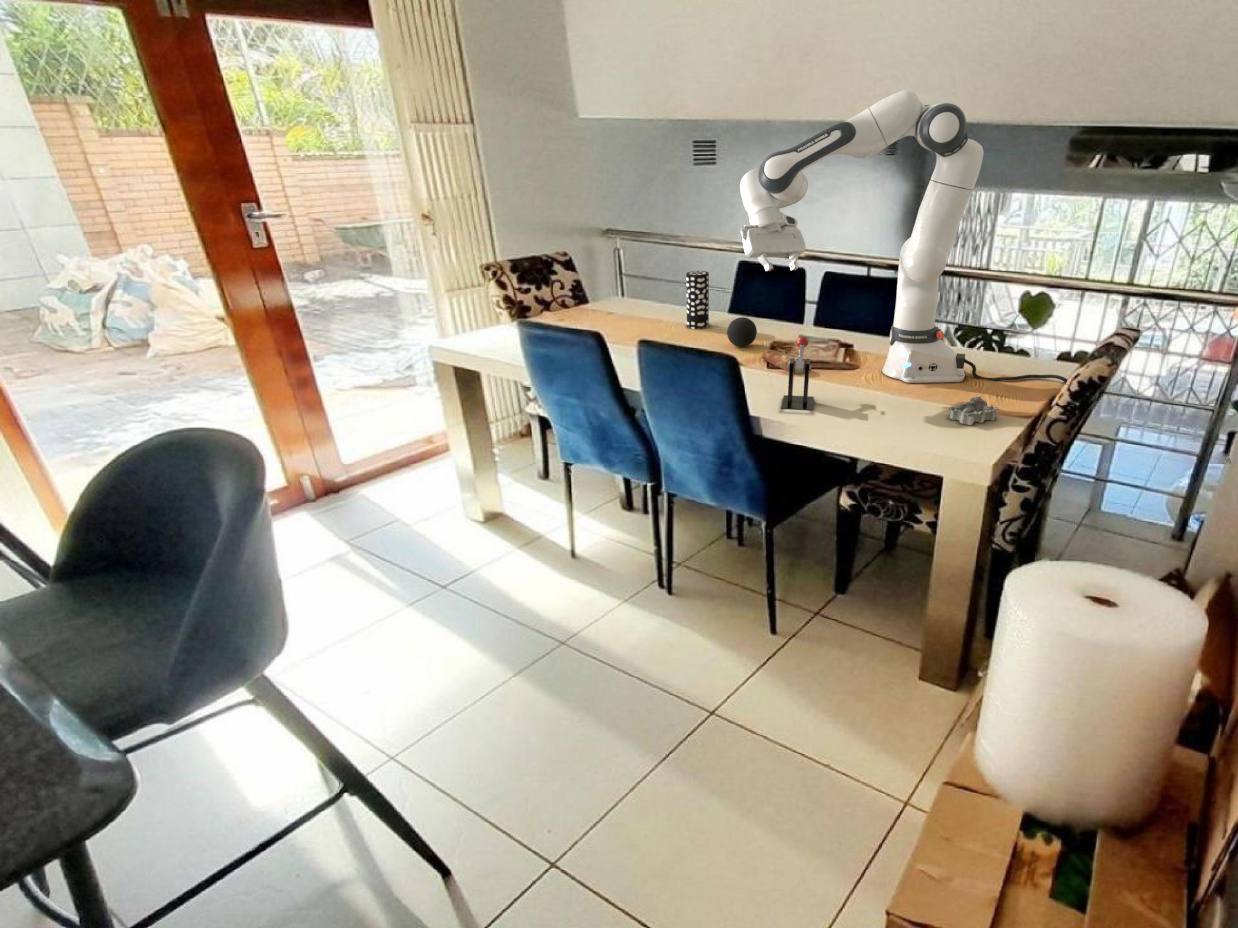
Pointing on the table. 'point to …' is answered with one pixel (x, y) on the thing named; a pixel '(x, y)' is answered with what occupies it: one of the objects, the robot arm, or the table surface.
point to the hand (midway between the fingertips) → (782, 269)
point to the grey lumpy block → (973, 411)
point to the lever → (801, 355)
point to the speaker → (741, 332)
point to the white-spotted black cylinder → (697, 299)
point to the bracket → (798, 401)
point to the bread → (780, 359)
